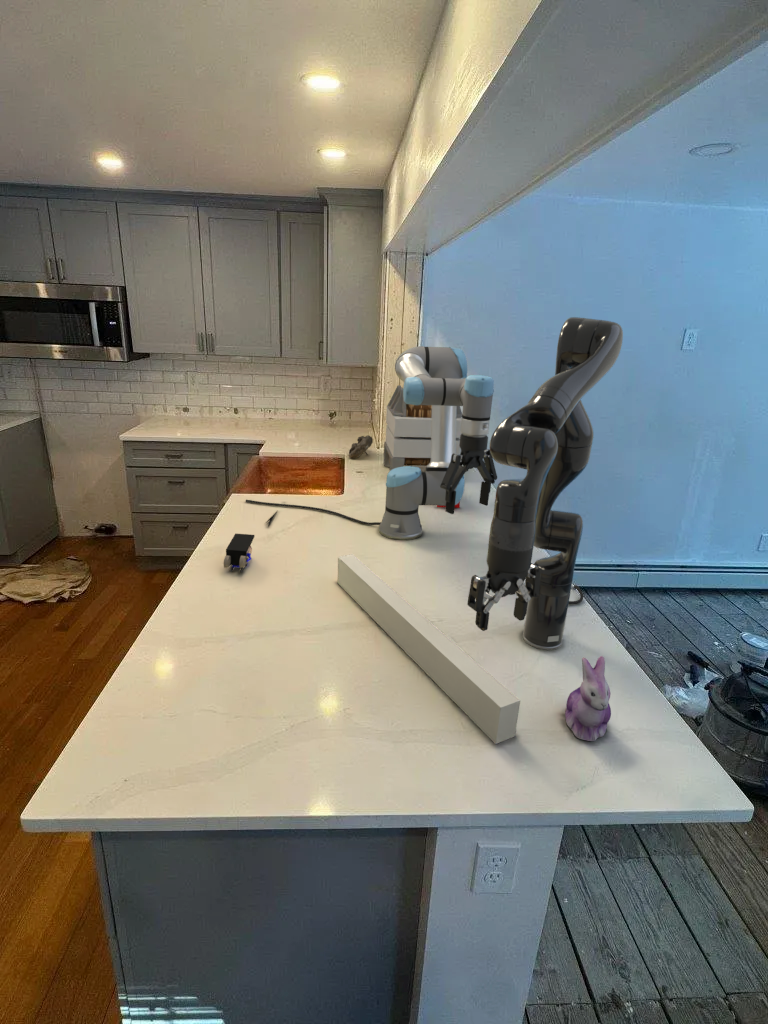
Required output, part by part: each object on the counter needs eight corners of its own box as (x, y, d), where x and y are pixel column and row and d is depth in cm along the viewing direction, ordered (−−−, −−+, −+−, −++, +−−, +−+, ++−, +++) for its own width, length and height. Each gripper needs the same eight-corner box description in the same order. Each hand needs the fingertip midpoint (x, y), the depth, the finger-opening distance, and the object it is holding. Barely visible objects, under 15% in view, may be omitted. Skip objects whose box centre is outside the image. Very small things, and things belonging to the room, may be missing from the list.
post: (337, 582, 163) (337, 556, 160) (352, 579, 165) (352, 554, 162) (495, 744, 105) (500, 707, 102) (515, 736, 107) (520, 700, 104)
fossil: (348, 441, 313) (370, 426, 308) (359, 455, 316) (380, 440, 311) (342, 455, 293) (365, 439, 288) (353, 469, 296) (376, 454, 291)
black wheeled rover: (246, 579, 165) (256, 553, 178) (245, 557, 161) (255, 532, 175) (223, 578, 165) (235, 552, 178) (221, 556, 161) (233, 531, 175)
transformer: (382, 463, 289) (386, 382, 275) (445, 464, 293) (451, 384, 279) (390, 482, 257) (394, 392, 243) (460, 483, 261) (468, 394, 247)
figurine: (589, 751, 104) (604, 682, 99) (550, 716, 112) (561, 651, 107) (625, 735, 108) (641, 669, 103) (585, 703, 116) (597, 640, 111)
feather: (284, 505, 226) (287, 501, 226) (267, 528, 200) (269, 524, 199) (281, 503, 226) (283, 499, 225) (262, 526, 199) (265, 521, 199)
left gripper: (450, 442, 143) (444, 520, 150) (515, 432, 158) (506, 504, 165) (430, 436, 149) (425, 512, 156) (494, 427, 163) (487, 497, 171)
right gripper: (492, 555, 91) (482, 643, 96) (557, 542, 97) (544, 624, 103) (464, 539, 97) (456, 622, 102) (527, 527, 103) (517, 606, 109)
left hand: (467, 508), depth 160 cm, fingers open, 13 cm apart
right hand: (500, 623), depth 102 cm, fingers open, 8 cm apart
